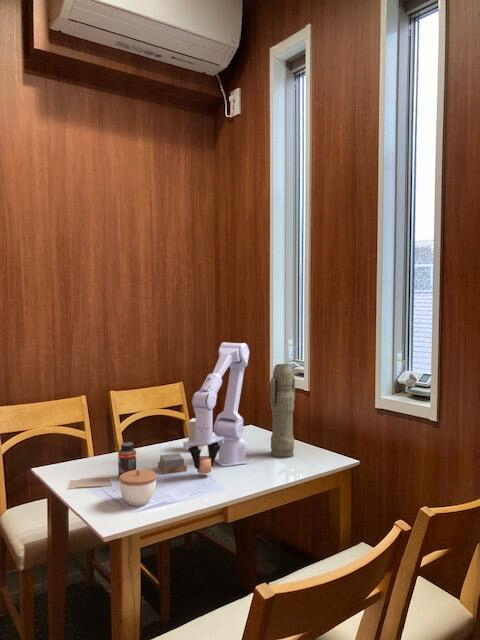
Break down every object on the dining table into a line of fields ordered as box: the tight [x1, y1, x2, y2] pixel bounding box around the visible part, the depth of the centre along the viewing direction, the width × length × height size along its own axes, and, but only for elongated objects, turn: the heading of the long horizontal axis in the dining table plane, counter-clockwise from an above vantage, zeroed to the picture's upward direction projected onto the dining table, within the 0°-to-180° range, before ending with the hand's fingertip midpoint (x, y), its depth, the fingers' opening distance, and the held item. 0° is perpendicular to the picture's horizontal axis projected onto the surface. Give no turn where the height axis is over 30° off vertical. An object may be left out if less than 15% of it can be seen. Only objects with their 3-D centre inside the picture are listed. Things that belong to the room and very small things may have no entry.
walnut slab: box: [157, 461, 188, 475], centre depth 175 cm, size 8×8×2 cm
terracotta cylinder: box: [196, 455, 212, 474], centre depth 168 cm, size 5×5×4 cm
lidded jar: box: [118, 468, 157, 506], centre depth 146 cm, size 11×11×9 cm
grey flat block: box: [159, 452, 185, 468], centre depth 174 cm, size 7×7×2 cm
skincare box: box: [187, 417, 204, 453], centre depth 198 cm, size 6×4×12 cm
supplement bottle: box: [117, 442, 137, 478], centre depth 166 cm, size 6×6×11 cm
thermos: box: [269, 363, 296, 459], centre depth 192 cm, size 9×12×35 cm
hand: (204, 466), depth 168 cm, fingers closed on terracotta cylinder, 5 cm apart
